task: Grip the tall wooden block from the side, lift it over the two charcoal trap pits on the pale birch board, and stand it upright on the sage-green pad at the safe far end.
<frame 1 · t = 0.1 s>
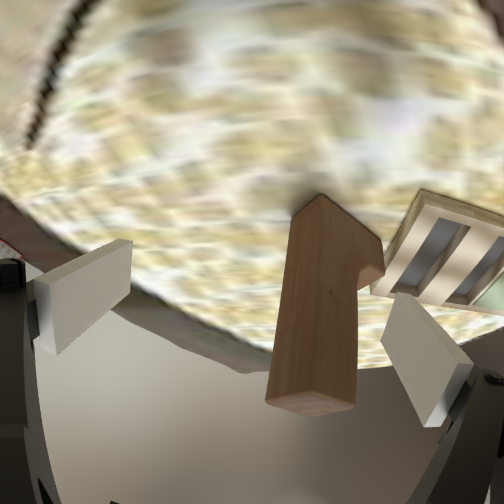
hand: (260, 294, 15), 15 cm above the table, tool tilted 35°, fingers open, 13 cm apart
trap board: (478, 261, 31), on the table
wooden block: (338, 228, 32), on the table
cracker box: (11, 259, 51), on the table
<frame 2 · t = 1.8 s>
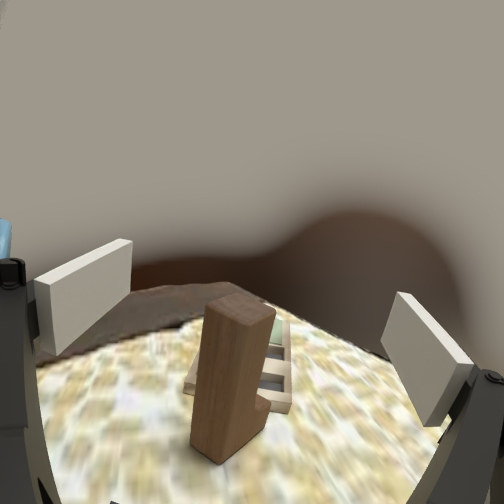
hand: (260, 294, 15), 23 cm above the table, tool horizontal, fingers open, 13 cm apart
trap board: (245, 357, 51), on the table
wooden block: (228, 437, 33), on the table
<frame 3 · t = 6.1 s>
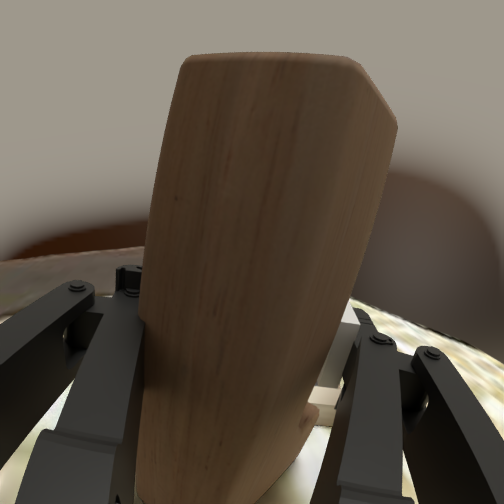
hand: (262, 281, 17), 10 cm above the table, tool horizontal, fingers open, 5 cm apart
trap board: (252, 333, 32), on the table
wooden block: (223, 480, 14), on the table
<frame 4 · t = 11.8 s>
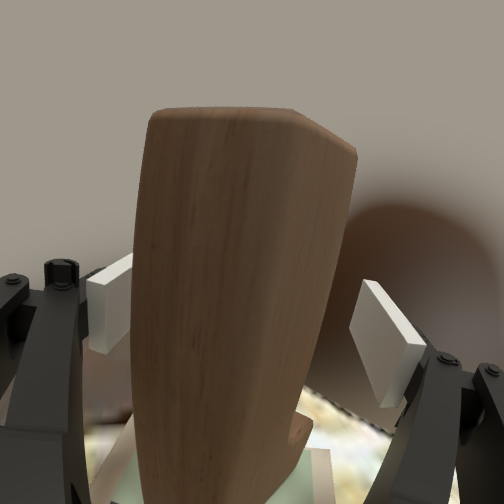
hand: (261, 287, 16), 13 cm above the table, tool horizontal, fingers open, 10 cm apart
wooden block: (226, 492, 15), point 2 cm above the table, touching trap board
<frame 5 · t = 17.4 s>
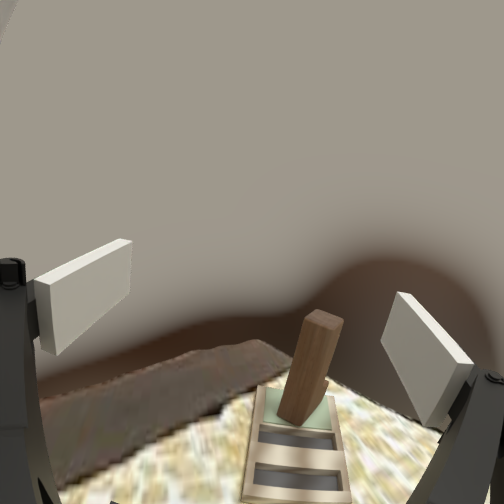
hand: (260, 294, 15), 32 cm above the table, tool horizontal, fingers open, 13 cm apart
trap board: (295, 446, 43), on the table
wooden block: (299, 409, 49), point 2 cm above the table, touching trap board
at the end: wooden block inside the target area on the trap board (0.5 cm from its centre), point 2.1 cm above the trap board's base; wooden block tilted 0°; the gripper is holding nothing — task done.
